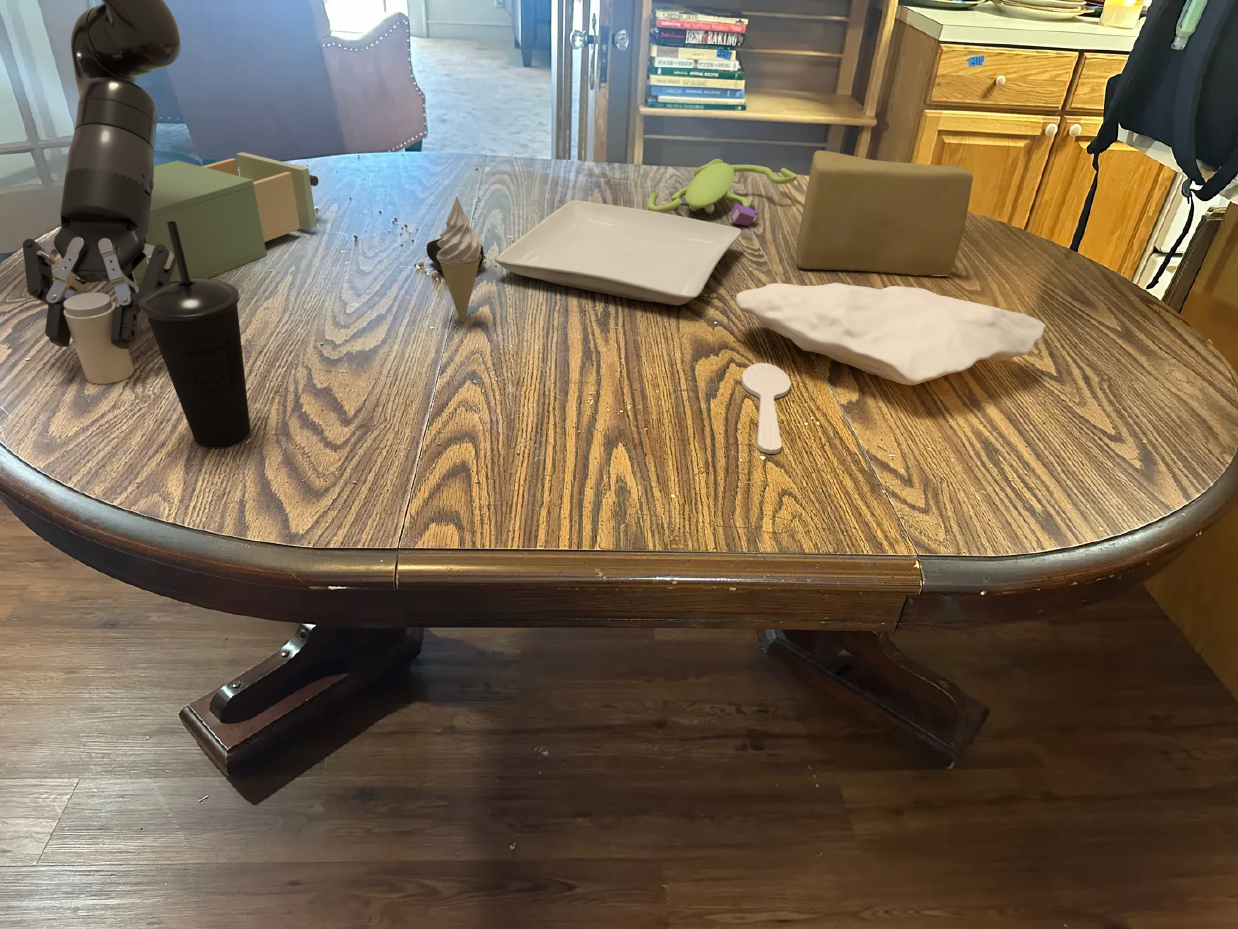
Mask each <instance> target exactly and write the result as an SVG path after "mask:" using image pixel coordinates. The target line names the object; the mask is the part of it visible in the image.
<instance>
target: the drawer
mask: <svg viewBox="0 0 1238 929" xmlns="http://www.w3.org/2000/svg"><path fill="white" fill-rule="evenodd" d="M235 157H236V158H233V157H231V158H227V159H225V160H221V161H217V162H214V163H213V162H212V163H210V164H205V165H202V166H201V167H205V168H209V169H213V170H217V171H221V172H224V173H228V174H232V175H236V176H240V177H244V178H248V179H252V180H253V183H254V189H255V195H256V200H257V205H258V211H259V216H260V222H261V227H262V233H263V238H264V243H267V242H268V241H271V240H274V239H276V238H279V237H282V236H284V235H287V234H290V233H293V232H295V231H297V230H298V231H299V230H300V229H301V228H305V229H309V230H313V229H315V228H317V227H318V224H317V217H316V211H315V210H316V209H315V203H314V196H313V190H312V189H313V188H312V187H317V186H318V184H319V177H318V176H316V175H312V174H310V169H309V167H306V166H302V165H297V164H293V163H289V162H286V161H285V162H284V161H281V160H276V159H272V158H268V157H266V156H265V157H264V156H260V155H257V154H251V153H247V152H244V151H241V152H237V153H235Z"/></svg>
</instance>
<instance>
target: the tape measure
mask: <svg viewBox="0 0 1238 929" xmlns="http://www.w3.org/2000/svg"><path fill="white" fill-rule="evenodd" d="M440 240H442V238H441V237H440V238H438V239H433V240H430V241H429V242H428V243H426V255H427V257H428V258H429V259H430V260H431V262H432V263H434V264H435V265H436V266H437V267H438V268H439V270H440V272H442V273H443V270H442V267H441V265H440V262H439V260H438V259H437V255H438V252H439V251H440V250H441V248H440V247H439V246H438V245H437V242H438V241H440ZM484 252H485V251H484V246H483V245H482V244H481V252H480V254H481V256H482V258H481V260H480V261H479V265H478V269H480V268H481V267H482V266H483V263H484V260H485V256H484Z"/></svg>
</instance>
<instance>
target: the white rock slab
mask: <svg viewBox="0 0 1238 929" xmlns="http://www.w3.org/2000/svg"><path fill="white" fill-rule="evenodd" d="M735 304H736V306H737V308H738V310H740V311H741V312H744V313H746V314H749V315H753V316H755V318H757V319H758V320H759V321H760V322H761V323H762V324H764V325H765V326H766V327H767V328H768V329H769V330H771V331H774V332H776V333H777V334H779V335H781V336H782V337H784V338H787V339H790V340H791V341H792V342H793V343H794V344H795V345H796V346H797V347H798V348H800V349H801V350H802V351H805V352H812V353H815V354H819V355H820V354H821V355H824V356H827V357H828V358H830V359H832V360H834V361H836V362H839V363H840V364H841V363H842V364H845V365H847V366H851V367H854V368H856V369H858V370H861V371H863V372H864V373H867V374H868V375H871V376H878V377H880V378H882V379H885V380H890V381H893V382H895V383H896V384H901V385H907V386H916V385H918V384H922V383H925V382H928V381H932V380H937V379H938V378H942V377H944V376H946V375H949V374H954V373H955V374H956V373H960V372H963V371H965V370H968V369H970V368H971V367H972V366H973V365H974V364H975V363H976V362H977V361H983V360H987V361H997V362H1005V361H1009V360H1012V359H1014V358H1017V357H1023V356H1026V355H1028V354H1029V353H1030V352H1031V351H1032V350H1033V348H1034V346H1035V344H1036V343H1037V342H1039V341H1040V340H1041V339H1042V337H1043V335H1044V332H1045V330H1046V328H1047V326H1046V323H1044V322H1042V321H1041V320H1039V319H1038V318H1035V317H1032V316H1030V315H1028V314H1025V313H1021V312H1015V311H1011V310H1005V309H1002V308H999V307H996V306H991V305H987V304H983V303H979V302H973V301H969V300H964V299H959V298H955V297H951V296H947V295H946V296H945V295H940V294H937V293H935V292H934V291H933V292H932V291H930V290H929V289H926V288H922V287H911V286H901V285H890V286H887V287H884V288H881V289H880V288H879V289H878V288H874V287H870V286H861V285H850V284H845V283H840V282H831V283H828V284H827V283H826V284H820V285H799V284H791V283H779V282H777V283H770V284H767V285H765V286H762V287H759V288H751V289H745V290H743V291H739V292H738V293H737V295H736V296H735Z"/></svg>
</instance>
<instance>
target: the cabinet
mask: <svg viewBox="0 0 1238 929" xmlns="http://www.w3.org/2000/svg"><path fill="white" fill-rule="evenodd" d="M153 181H154V188H153V190H152V196H151V205H150V215H149V223H148V232H147V234H146V241H147V244H148V245H152V246H156V245H158V244H162V245H164V246H165V247H166V248H168V249H169V250H170V251H171V252H172V253H173V254H174V250H173V246H172V242H171V238H170V234H169V229H168V225H167V222H171V221H174V222H176V223H177V227H178V232H179V236H180V240H181V244H182V248H183V253H184V257H185V261H186V265H187V269H188V274H189V278H203V279H210V278H213V277H216V276H218V275H220V274H223V273H227V272H228V271H231V270H233V269H237V268H238V267H241V266H243V265H246V264H249V263H252V262H253V261H256V260H259V259H261V258H264V257H266V256H267V249H266V244H265V242H264V238H263V233H262V227H261V222H260V216H259V211H258V205H257V200H256V195H255V189H254V183H253V180H252V179H248V178H244V177H240V175H239V176H236V175H232V174H228V173H224V172H221V171H217V170H213V169H209V168H205V167H202V166H201V165H196V164H193V163H188V162H186V161H182V160H174V161H170V162H166V163H163V164H158V165H154V179H153ZM174 255H175V254H174ZM147 266H148V264H147V263H146V258H145V259H144V260H143V261H142V262H141V263H140V264H139V265H138V266H137V267H136V268H135V269H134V270H133V272H134V275H135V279H136V282H137V285H139V286H140V285H141V283H142V280H143V277H144V274H145V272H146V269H147ZM179 279H181V278H180V274H179V270H178V266H177V262H176V264H175V267H174V270H173V273H172V276H171V278H170V281H169V282H171V281H175V280H179Z"/></svg>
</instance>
